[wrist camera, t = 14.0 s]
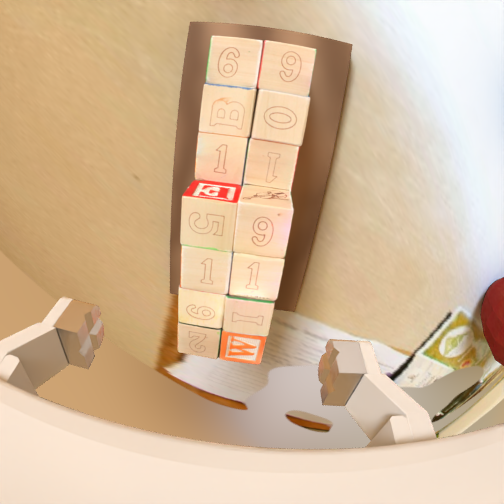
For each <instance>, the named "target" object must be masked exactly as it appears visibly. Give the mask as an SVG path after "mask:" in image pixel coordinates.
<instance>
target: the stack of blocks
mask: <svg viewBox="0 0 504 504" xmlns="http://www.w3.org/2000/svg"><path fill="white" fill-rule="evenodd" d="M316 52H317V50H316V49H313V48H309V47H304V46H299V45H293V44H287V43H281V42H275V41H268V40H265V41H262V40H255V39H248V38H238V37H227V36H211V40H210V47H209V54H208V62H207V69H206V82H205V84H204V87H203V95H202V103H201V112H200V122H199V133H198V138H197V148H196V162H195V180H194V181H193V182H192V183H191V184H190V186H189V187H188V188H187V190H186V191H185V192H184V194H183V195H182V208H181V234H180V243H181V245H182V248H181V277H180V285H179V295H178V320H179V322H178V352H181V353H186V354H191V355H197V356H202V357H208V358H213V359H217V358H218V357H219V358H220V359H222V360H227V361H234V362H242V363H251V364H261V360H262V356H263V352H264V347H265V343H266V339H267V336H268V334H269V329H270V325H271V320H272V315H273V310H274V303H275V300H276V299H277V298H278V293H279V288H280V283H281V278H282V273H283V268H284V261H285V255H286V250H287V245H288V240H289V234H290V229H291V224H292V218H293V214H294V209H293V202H292V195H291V190H292V185H293V180H294V175H295V170H296V165H297V160H298V155H299V149H300V146H301V145H302V143H303V138H304V133H305V128H306V123H307V117H308V111H309V105H310V97H309V92H310V87H311V81H312V75H313V70H314V64H315V58H316Z"/></svg>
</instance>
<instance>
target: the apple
mask: <svg viewBox="0 0 504 504" xmlns="http://www.w3.org/2000/svg"><path fill="white" fill-rule="evenodd" d="M480 315H481V320H482V326H483V332H484V336H485V338H486V340H487V342H488V345H489V347H490V349H491V351H492V354H493V356H494V358H495V360H496V361H498V362H499V363H500V364H502V365H503V366H504V277H503V278H501V279H499V280H496V281H495V282H494V283H493V284H492V285H491V286H490V287H489V289H488V290H487V292H486V295H485V298H484V301H483V304H482V308H481V314H480Z"/></svg>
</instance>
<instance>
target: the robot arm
mask: <svg viewBox="0 0 504 504" xmlns="http://www.w3.org/2000/svg"><path fill="white" fill-rule="evenodd" d="M100 315H101V312H100V308H99V306H97V305H94V304H90V303H86V302H83V301H79V300H75V299H74V300H73V299H70V298H66V297H62V298H60V299H59V301H58V302H57V303H56V305H55V306H54V307H53V308H52V310H51V311H50V312H49V314H48V315H47V316H46V318H45V319H44V321H43V322H42V323H36V324H34V325H32V326H30V327H28V328H26V329H24V330H22V331H20V332H17V333H15V334H13V335H11V336H9V337H7V338H5V339H3V340H1V341H0V504H504V423H502V424H498V425H495V426H491V427H487V428H484V429H480V430H476V431H472V432H467V433H463V434H458V435H454V436H449V437H443V438H438V439H437V438H436V435H435V432H434V429H433V426H432V423H431V420H430V418H429V415H428V412H427V411H426V410H425V409H423V408H422V407H421V406H420V405H419V404H418V403H417V402H415V401H414V400H413V399H412V398H411V397H410V396H409V395H408V394H407V393H405V392H404V391H403V390H402V389H401V388H400V387H399V386H398V385H396V384H395V383H394V382H393V381H392V380H391V379H390V378H389V377H388V376H386V375H385V374H381V371H380V368H379V365H378V362H377V359H376V356H375V353H374V350H373V347H372V344H371V342H370V341H352V340H335V339H330V340H329V341H328V342H327V345H326V352H327V353H325V354H324V355H322V357H321V360H320V362H319V368H318V376H319V381H320V382H321V383H322V384H323V386H322V388H321V398H322V405H333V406H345V408H346V409H347V411H348V412H349V413H350V414H351V416H352V417H353V418H354V420H355V421H356V422H357V424H358V425H359V426H360V427H361V429H362V430H363V431H364V432H365V434H366V435H367V436H368V438H369V439H370V440H371V442H370V443H369V444H368V445H367V446H366V447H365V448H348V449H281V448H263V447H250V446H240V445H229V444H221V443H213V442H207V441H199V440H193V439H187V438H182V437H177V436H171V435H166V434H161V433H157V432H152V431H147V430H143V429H139V428H135V427H130V426H127V425H123V424H119V423H116V422H112V421H108V420H105V419H102V418H98V417H95V416H92V415H89V414H86V413H83V412H80V411H76V410H74V409H71V408H68V407H65V406H62V405H60V404H57V403H54V402H52V401H49V400H47V399H44V398H42V397H39V396H38V394H37V392H36V391H35V389H37V388H38V387H39V386H41V385H42V384H43V383H45V382H46V381H48V380H49V379H50V378H51V377H53V376H54V375H56V374H57V373H59V372H60V371H61V370H63V369H64V368H65V367H67V366H68V365H69V364H71V365H75V366H78V367H82V368H86V369H89V367H90V365H91V363H92V361H93V359H94V357H95V355H94V350H96V349H98V348H99V347H100V345H101V343H102V340H103V336H104V327H103V323H102V322H101V321H100V319H99V317H100Z"/></svg>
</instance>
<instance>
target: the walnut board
mask: <svg viewBox="0 0 504 504" xmlns="http://www.w3.org/2000/svg"><path fill="white" fill-rule="evenodd" d="M211 36H227V37H238V38H248V39H255V40H262V41H265V40H268V41H275V42H281V43H287V44H293V45H299V46H304V47H309V48H313V49H316V50H317V52H316V58H315V64H314V70H313V75H312V81H311V87H310V92H309V97H310V105H309V111H308V117H307V123H306V128H305V133H304V138H303V143H302V145H301V146H300V149H299V155H298V160H297V165H296V170H295V175H294V180H293V185H292V190H291V195H292V202H293V209H294V214H293V218H292V224H291V229H290V234H289V240H288V245H287V250H286V255H285V261H284V268H283V273H282V278H281V283H280V288H279V293H278V298H277V299H276V300H275V303H274V309H277V310H284V311H292V312H294V311H295V307H296V303H297V300H298V296H299V292H300V289H301V285H302V281H303V277H304V274H305V270H306V266H307V262H308V258H309V254H310V250H311V246H312V242H313V238H314V234H315V230H316V226H317V222H318V217H319V213H320V209H321V205H322V200H323V196H324V192H325V187H326V183H327V178H328V173H329V169H330V164H331V159H332V155H333V150H334V145H335V140H336V135H337V130H338V125H339V120H340V115H341V109H342V104H343V98H344V93H345V87H346V81H347V76H348V70H349V64H350V57H351V51H352V44H349V43H345V42H341V41H337V40H333V39H328V38H324V37H319V36H315V35H310V34H305V33H299V32H294V31H288V30H281V29H275V28H268V27H260V26H251V25H241V24H229V23H213V22H190V26H189V32H188V39H187V45H186V52H185V59H184V67H183V74H182V82H181V91H180V100H179V109H178V119H177V130H176V142H175V154H174V169H173V186H172V206H171V236H170V293H171V294H177V295H179V285H180V277H181V248H182V245H181V243H180V234H181V208H182V195H183V194H184V192H185V191H186V190H187V188H188V187H189V186H190V184H191V183H192V182H193V181H194V180H195V162H196V148H197V138H198V133H199V122H200V112H201V103H202V95H203V87H204V84H205V82H206V69H207V62H208V54H209V47H210V40H211Z"/></svg>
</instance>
